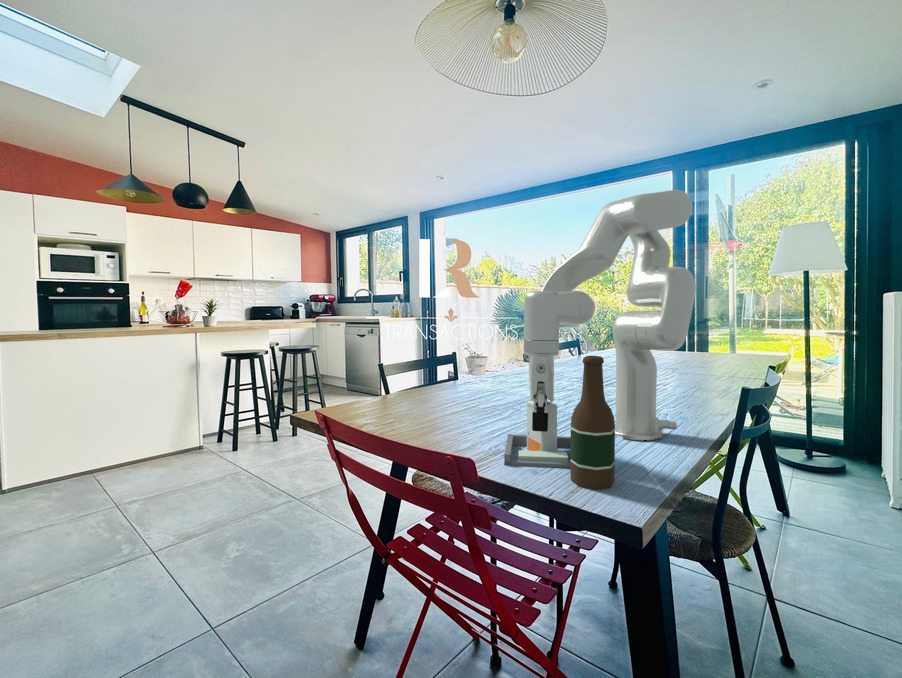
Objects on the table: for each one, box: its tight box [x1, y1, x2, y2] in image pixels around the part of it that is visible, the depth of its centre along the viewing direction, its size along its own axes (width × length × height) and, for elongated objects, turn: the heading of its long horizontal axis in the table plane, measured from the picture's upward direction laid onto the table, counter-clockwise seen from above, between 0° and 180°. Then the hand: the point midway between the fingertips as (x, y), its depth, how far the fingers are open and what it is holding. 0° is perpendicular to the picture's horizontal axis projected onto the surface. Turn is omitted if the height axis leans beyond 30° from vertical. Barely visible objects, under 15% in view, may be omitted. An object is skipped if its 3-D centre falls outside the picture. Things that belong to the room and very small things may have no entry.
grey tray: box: [503, 433, 571, 469], centre depth 95 cm, size 15×14×3 cm
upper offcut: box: [517, 449, 569, 463], centre depth 92 cm, size 10×4×2 cm, turn 82°
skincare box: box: [526, 399, 558, 452], centre depth 97 cm, size 6×4×12 cm
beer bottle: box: [569, 355, 616, 491], centre depth 80 cm, size 8×8×24 cm
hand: (539, 425), depth 96 cm, fingers open, 9 cm apart
